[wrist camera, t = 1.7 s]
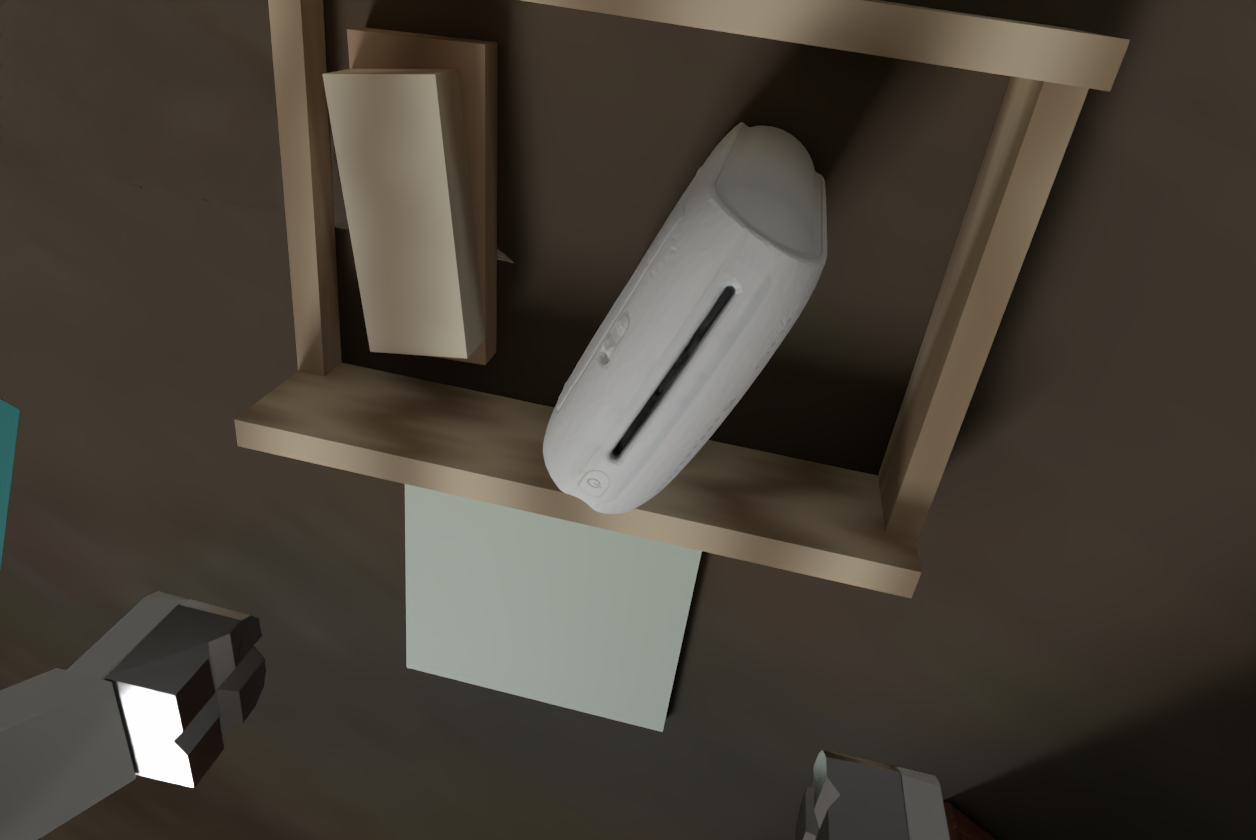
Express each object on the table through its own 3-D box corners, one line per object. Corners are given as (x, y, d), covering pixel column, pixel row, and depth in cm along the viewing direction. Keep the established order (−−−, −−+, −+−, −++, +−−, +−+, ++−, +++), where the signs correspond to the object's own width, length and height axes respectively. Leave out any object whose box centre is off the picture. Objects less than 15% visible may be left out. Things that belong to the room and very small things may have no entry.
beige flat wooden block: (504, 41, 29) (484, 44, 28) (501, 346, 35) (485, 365, 33) (373, 26, 30) (347, 29, 28) (391, 329, 36) (370, 346, 34)
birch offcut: (458, 69, 28) (435, 74, 26) (485, 338, 33) (467, 358, 31) (351, 68, 29) (322, 73, 27) (393, 333, 34) (370, 351, 32)
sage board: (712, 503, 36) (710, 513, 35) (665, 719, 43) (662, 732, 42) (412, 437, 38) (404, 445, 37) (413, 656, 44) (406, 667, 44)
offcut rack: (1068, 28, 25) (1134, 40, 20) (899, 505, 34) (914, 599, 29) (286, -87, 28) (167, -103, 23) (318, 380, 37) (237, 445, 32)
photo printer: (686, 384, 34) (627, 572, 23) (597, 328, 33) (495, 493, 23) (843, 167, 29) (861, 280, 18) (741, 98, 28) (696, 170, 17)
